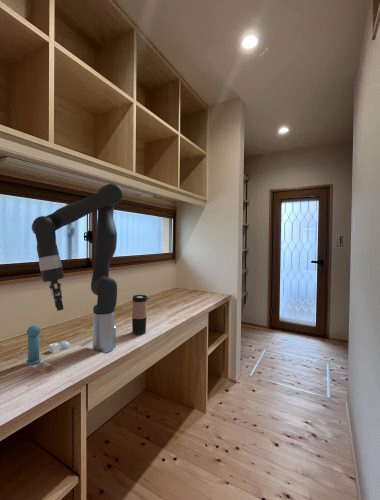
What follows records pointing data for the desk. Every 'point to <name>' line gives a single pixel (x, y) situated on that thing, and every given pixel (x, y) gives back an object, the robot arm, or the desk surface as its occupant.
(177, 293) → the desk surface
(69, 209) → the robot arm
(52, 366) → the track board
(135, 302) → the travel mug
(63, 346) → the die tray
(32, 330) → the pawn
